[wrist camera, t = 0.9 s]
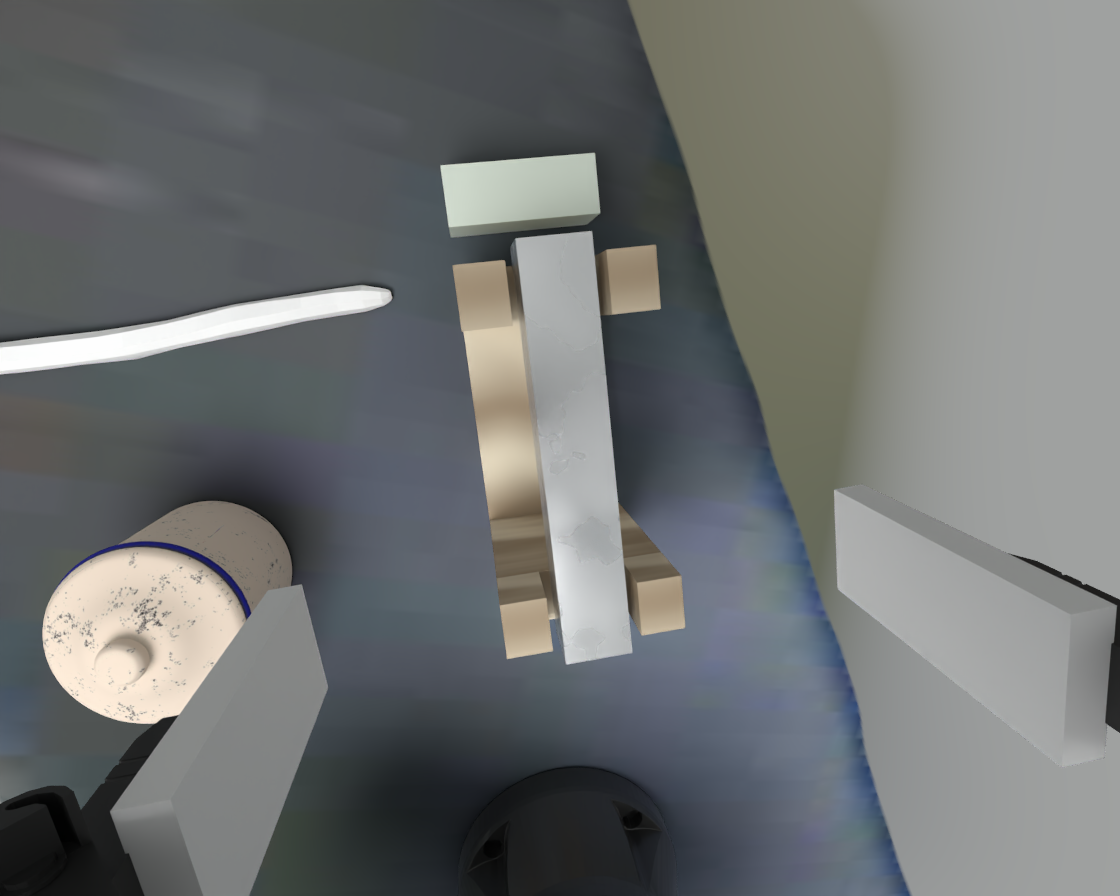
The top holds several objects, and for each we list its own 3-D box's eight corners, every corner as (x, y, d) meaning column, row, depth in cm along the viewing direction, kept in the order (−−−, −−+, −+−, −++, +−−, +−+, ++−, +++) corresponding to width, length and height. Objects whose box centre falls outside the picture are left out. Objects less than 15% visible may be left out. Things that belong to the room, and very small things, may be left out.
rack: (616, 533, 42) (685, 627, 29) (494, 551, 41) (507, 658, 28) (591, 272, 38) (655, 244, 25) (457, 286, 37) (452, 265, 24)
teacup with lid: (105, 534, 37) (-52, 625, 26) (252, 470, 38) (160, 531, 26) (211, 700, 40) (110, 848, 29) (346, 638, 41) (299, 758, 29)
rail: (616, 622, 31) (632, 652, 28) (556, 632, 31) (566, 664, 28) (578, 240, 28) (591, 230, 25) (510, 247, 27) (515, 238, 25)
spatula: (380, 240, 37) (374, 234, 34) (397, 312, 38) (391, 312, 35) (-150, 330, 34) (-204, 330, 31) (-118, 405, 35) (-168, 412, 32)
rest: (586, 224, 38) (600, 213, 34) (450, 237, 37) (448, 227, 33) (556, -84, 35) (568, -136, 31) (407, -79, 34) (399, -131, 30)
